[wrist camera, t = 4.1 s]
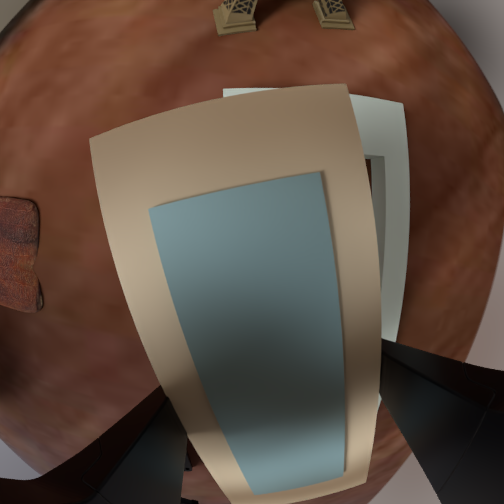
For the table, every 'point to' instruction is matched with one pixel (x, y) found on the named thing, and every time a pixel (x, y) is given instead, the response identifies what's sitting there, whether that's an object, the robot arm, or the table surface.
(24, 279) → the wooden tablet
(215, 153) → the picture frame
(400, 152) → the pale grey open frame
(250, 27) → the eiffel tower
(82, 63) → the table surface
